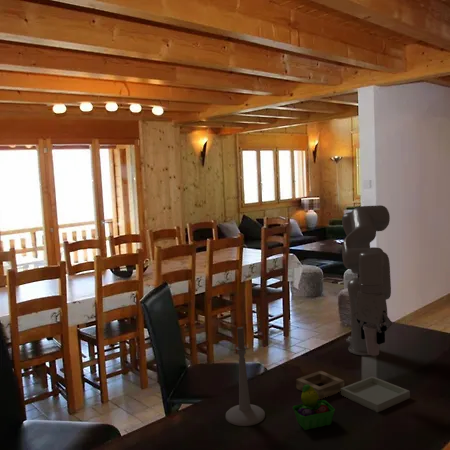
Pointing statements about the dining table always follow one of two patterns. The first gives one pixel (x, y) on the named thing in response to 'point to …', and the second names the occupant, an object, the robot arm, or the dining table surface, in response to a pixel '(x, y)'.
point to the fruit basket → (313, 410)
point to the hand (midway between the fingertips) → (372, 340)
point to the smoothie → (371, 338)
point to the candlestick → (244, 393)
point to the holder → (318, 377)
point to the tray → (375, 393)
